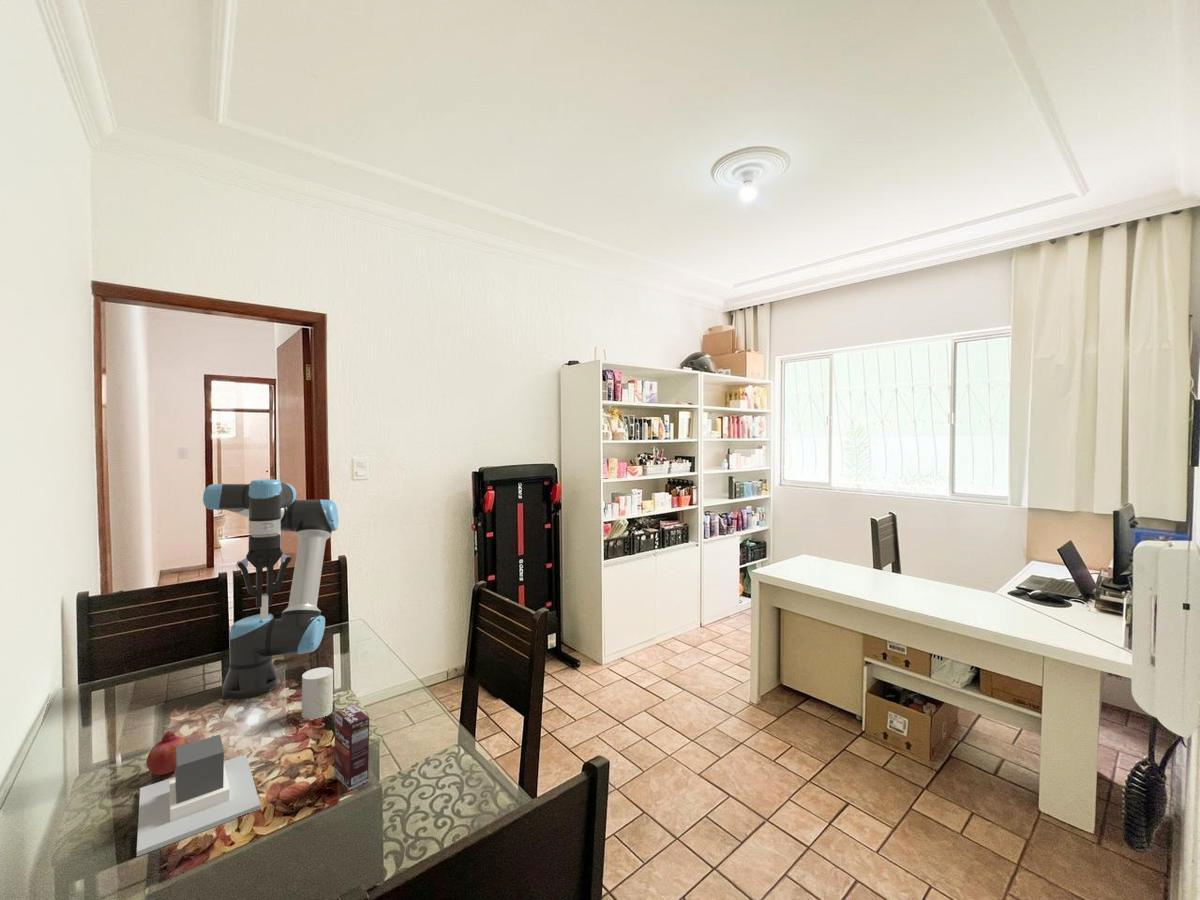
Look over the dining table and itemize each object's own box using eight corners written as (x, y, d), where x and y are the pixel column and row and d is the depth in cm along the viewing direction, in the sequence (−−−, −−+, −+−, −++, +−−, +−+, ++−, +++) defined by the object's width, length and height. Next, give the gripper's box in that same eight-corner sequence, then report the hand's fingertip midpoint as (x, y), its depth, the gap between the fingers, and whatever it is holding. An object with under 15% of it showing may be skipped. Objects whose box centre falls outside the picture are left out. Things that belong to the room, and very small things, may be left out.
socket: (140, 792, 115) (140, 777, 115) (246, 758, 128) (246, 744, 128) (136, 856, 97) (136, 838, 97) (260, 809, 110) (260, 793, 110)
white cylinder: (318, 721, 146) (319, 680, 146) (294, 718, 147) (295, 677, 147) (338, 707, 154) (339, 668, 154) (315, 704, 155) (316, 666, 155)
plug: (175, 792, 113) (176, 747, 113) (219, 777, 119) (220, 734, 119) (176, 814, 107) (177, 766, 107) (223, 797, 112) (223, 751, 112)
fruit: (139, 787, 117) (140, 744, 117) (154, 767, 124) (154, 726, 124) (183, 778, 120) (183, 737, 120) (194, 759, 127) (195, 720, 127)
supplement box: (332, 776, 121) (333, 711, 122) (353, 767, 125) (354, 703, 125) (348, 792, 116) (349, 723, 116) (369, 782, 120) (370, 715, 120)
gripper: (237, 539, 134) (237, 627, 134) (294, 534, 142) (293, 616, 143) (234, 535, 139) (234, 619, 140) (289, 530, 148) (288, 609, 148)
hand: (264, 617), depth 141 cm, fingers closed
